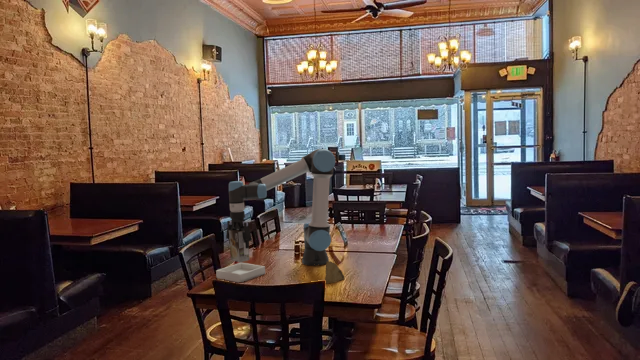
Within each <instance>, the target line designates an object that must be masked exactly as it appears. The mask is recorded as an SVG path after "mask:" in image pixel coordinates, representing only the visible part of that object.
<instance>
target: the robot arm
mask: <svg viewBox="0 0 640 360" xmlns="http://www.w3.org/2000/svg"><path fill="white" fill-rule="evenodd" d="M335 165H336V157H335V155H334V154H333V152H332V151H331V150H330V149H326V148H316V149H314V150H312V151H311V152H309V153H308V154H306V155H304V156H302V157H301V159H300V160H298V161H296V162H293V163H291V164H289V165H287V166H285V167H282V168H281V169H278V170H276V171H274V172H272V173H270V174H268V175H266V176H263V177H262V178H260V179H257V180H254V181H251V182H250V183H249V184H244V182H243V180H242V181H241V180H235V181H229V183H228V199H229V202H228V203H229V211H230V212H229V217H230V220H227V221H226V223H227V227H226V233H225V234H226V235H225V238H226V239H227V240H228V243H229V246H230V240H229V230H235V229H239V231H244V230H245V232H242V234H243V239H244V242H243V244H244V255H247V254H249V255H250V242H251V241H253V239H252V238H253V237H252V235H251V234H252V233H251V229H250V223H249V221H245V220H244V219H245V218H246V216H245V215H246V214H245V213H246V211H245V200H249V199H250V200H251V199H265V198H267V196H268V195H267V193H268V192H267V191H269V190H271V189H273V188H275V187H278V186H280V185H283V184H285V183H286V182H289V181H291V180H293V179H295V178H297V177H299V176H302V175H304V174H305V173H308V174H311V175H312V177H313V184H312V185H313V187H312V204H311V205H312V208H311V221H310V222H305V223H303V228H302V229H303V240H304V251H303V255H302V258H301V261H302V264H303V265H305V266H313V267H314V266H323V265H326V262H327V261H330V260H329V256H328V253H327V249H328V248H329V247H330V245H331V242H332V236H331V234H330V233H331V229H330V228H331V224H329V222H328V218H329V216H328V215H329V202H330V201H329V199H330V182H331V181H330V180H331V179H330V178H332V177H333V175H334V168H335ZM246 239H247V240H246Z"/></svg>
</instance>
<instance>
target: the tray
mask: <svg viewBox="0 0 640 360" xmlns="http://www.w3.org/2000/svg"><path fill="white" fill-rule="evenodd" d="M215 272H216V273H215V274H216V279H221V280H224V279H225V281H230V282H234V283H239V282H242V283H244V281H245V282H247V281H250V280H252V279H255V278H258V277H260V276H263V275H266V266H265V265H259V264H253V263H248V262H238V263H235V264H232V265H230V266H226V267H223V268H218V269H217V270H215Z"/></svg>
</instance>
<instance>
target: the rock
mask: <svg viewBox="0 0 640 360" xmlns="http://www.w3.org/2000/svg"><path fill="white" fill-rule="evenodd" d="M324 277H325V278H324V281H325V280H326V283H327V284H332V283H336V282H340V281H343V280H344V279H345V275H344V273H343V271H342V270H341V269H340V268H339V266H338V265H337V263H334V262H333V261H330V260H329V261H327V262H326V264H325V276H324ZM326 283H325V284H326ZM327 284H326V285H327Z"/></svg>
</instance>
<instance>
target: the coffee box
mask: <svg viewBox="0 0 640 360" xmlns="http://www.w3.org/2000/svg"><path fill="white" fill-rule="evenodd" d="M242 232H245V230H244V231H239V229H235V230H229V239H228V241H229V240H230V245H229V252H230V260H231V261H235V262H238V263H241V262H242V263H244V262H247V261H250V253H249V254H247V255H244V244H243V242H244V239H243V234H242ZM246 240H247V239H246Z"/></svg>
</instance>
